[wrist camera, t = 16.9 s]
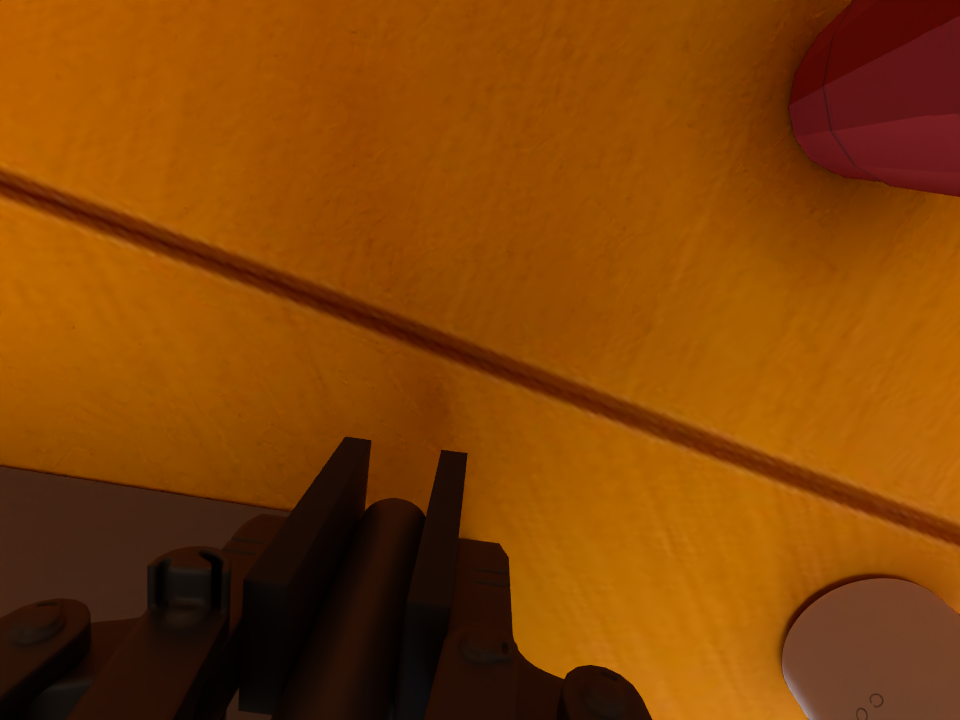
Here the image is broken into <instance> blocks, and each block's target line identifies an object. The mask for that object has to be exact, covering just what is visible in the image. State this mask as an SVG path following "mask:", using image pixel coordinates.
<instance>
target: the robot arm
mask: <svg viewBox="0 0 960 720" xmlns="http://www.w3.org/2000/svg"><path fill="white" fill-rule="evenodd" d="M370 449H371V440H367V439H359V438H352V437H345V438H344V439H343V440H342V442H341V443H340V445H339V446H338V447H337V449H336V450H335V452H334V453H333V454H332V456H331V457H330V459H329V460H328V461H327V463H326V464H325V466H324V467H323V468H322V470H321V471H320V473H319V474H318V475H317V477H316V478H315V480H314V481H313V483H312V484H311V485H310V487H309V488H308V490H307V491H306V492H305V494H304V495H303V497H302V498H301V499H300V501H299V502H298V504H297V505H296V506H295V508H294V509H293V511H292V512H291V513H290V515H289V516H288V517H285V516H278V515H270V514H263V513H261V514H260V515H258V516H256V517H254V518H253V519H251V520H249V521H247V522H245V523H244V524H243V525H242V526H241V527H240V528H239V529H238V530H237V532H236V533H235V534H234V535H233V536H232V538H231V540H229V541H228V542H227V543H226V545H225V546H224V547H223V548H222V550H220V549H218V548H213V547H208V546H190V547H185V548H180V549H176V550H172V551H170V552H168V553H166V554H163V555H161V556H159V557H157V558H156V559H155V560H154V561H152V562H151V563H150V564H149V565H148V566H147V610H146V611H145V612H144V614H143V615H142V616H141V617H136V618H130V619H123V620H113V621H103V622H93V623H91V613H90V611H89V609H88V607H87V605H86V604H84V603H82V602H80V601H78V600H75V599H64V598H57V599H50V600H43V601H39V602H36V603H32V604H29V605H26V606H23V607H20V608H18V609H17V610H15V611H13V612H11V613H9V614H7V615H5V616H3V617H2V618H0V720H227V708H228V706H229V704H230V702H231V701H232V699H233V697H234V695H235V693H236V692H237V690H238V688H239V702H238V711H243V712H251V713H259V714H266V715H273V713H274V711H275V708H276V706H277V704H278V702H279V699H280V697H281V695H282V693H283V691H284V688H285V686H286V684H287V682H288V679H289V677H290V675H291V673H292V671H293V668H294V666H295V664H296V662H297V659H298V657H299V655H300V653H301V651H302V648H303V646H304V644H305V642H306V640H307V637H308V635H309V633H310V631H311V628H312V626H313V624H314V622H315V620H316V617H317V615H318V613H319V611H320V608H321V606H322V604H323V602H324V600H325V597H326V595H327V593H328V591H329V588H330V586H331V584H332V582H333V580H334V577H335V575H336V573H337V571H338V568H339V566H340V564H341V562H342V560H343V557H344V555H345V553H346V551H347V548H348V546H349V544H350V542H351V540H352V537H353V535H354V533H355V531H356V528H357V526H358V524H359V522H360V520H361V517H362V515H363V514H364V512H365V501H366V491H367V481H368V470H369V460H370ZM467 454H468V453H463V452H455V451H448V450H441V454H440V458H439V463H438V467H437V471H436V476H435V480H434V484H433V489H432V493H431V497H430V502H429V506H428V510H427V515H426V519H425V524H424V528H423V532H422V537H421V541H420V545H419V550H418V554H417V558H416V563H415V567H414V571H413V576H412V580H411V585H410V589H409V593H408V598H407V603H406V611H405V619H404V627H403V636H402V644H401V652H400V660H399V668H398V677H397V685H396V693H395V701H394V710H393V718H392V720H652V718H651V716H650V714H649V712H648V710H647V708H646V706H645V703H644V701H643V699H642V697H641V696H640V695H639V693H638V692H637V690H636V689H635V687H634V686H633V685H632V684H631V683H630V682H629V681H627V680H626V679H625V678H624V677H622V676H621V675H620V674H618V673H616V672H614V671H611V670H609V669H607V668H605V667H599V666H593V665H587V666H580V667H576V668H575V669H573V670H572V671H570V672H569V673H567V675H566V677H565V679H562V678H559V677H557V676H554V675H552V674H550V673H547V672H545V671H543V670H541V669H539V668H537V667H535V666H534V665H533V664H531V663H530V662H529V661H527V660H526V659H525V658H524V656H523V655H522V654H521V653H520V652H519V650H518V647H517V644H516V643H515V641H514V638H513V631H512V612H511V593H510V575H509V557H508V556H507V554H506V553H505V551H504V550H503V548H502V547H501V545H500V544H499V543H491V542H484V541H477V540H469V539H462V538H458V537H459V528H460V518H461V509H462V500H463V491H464V481H465V472H466V463H467Z"/></svg>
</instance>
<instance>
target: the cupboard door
mask: <svg viewBox="0 0 960 720" xmlns="http://www.w3.org/2000/svg"><path fill="white" fill-rule="evenodd" d="M261 513H263V514H270V515H278V516H285V517H288V516H289V515H290V513H291V512H285V511H279V510H272V509H266V508H260V507H253V506H247V505H241V504H234V503H228V502H222V501H215V500H209V499H203V498H197V497H190V496H184V495H178V494H171V493H165V492H159V491H152V490H146V489H140V488H133V487H127V486H121V485H114V484H108V483H102V482H95V481H89V480H83V479H76V478H70V477H64V476H57V475H51V474H45V473H38V472H32V471H26V470H19V469H13V468H7V467H0V618H2V617H3V616H5V615H7V614H9V613H11V612H13V611H15V610H17V609H18V608H20V607H23V606H26V605H29V604H32V603H36V602H39V601H43V600H50V599H57V598H64V599H75V600H78V601H80V602H82V603H84V604H86V605H87V607H88V609H89V611H90V613H91V623H93V622H103V621H113V620H123V619H130V618H136V617H141V616H142V615H143V614H144V612H145V611H146V610H147V566H148V565H149V564H150V563H151V562H152V561H154V560H155V559H156V558H157V557H159V556H161V555H163V554H166V553H168V552H170V551H172V550H176V549H180V548H185V547H190V546H208V547H213V548H218V549H220V550H222V548H223V547H224V546H225V545H226V543H227V542H228V541H229V540H231V538H232V536H233V535H234V534H235V533H236V532H237V530H238V529H239V528H240V527H241V526H242V525H243V524H244V523H245V522H247V521H249V520H251V519H253V518H254V517H256V516H258V515H260V514H261ZM425 519H426V516H425V515H424V513H423V512H422V511H421V510H420V509H419V508H418V507H417V506H416V505H414V504H413V503H411V502H409V501H407V500H404V499H399V498H387V499H383V500H380V501H377V502H375V503H374V504H372V505H371V506H370V507H368V508H367V509H366V511H365V512H364V514H363V515H362V517H361V520H360V522H359V524H358V526H357V528H356V531H355V533H354V535H353V537H352V540H351V542H350V544H349V546H348V548H347V551H346V553H345V555H344V557H343V560H342V562H341V564H340V566H339V568H338V571H337V573H336V575H335V577H334V580H333V582H332V584H331V586H330V588H329V591H328V593H327V595H326V597H325V600H324V602H323V604H322V606H321V608H320V611H319V613H318V615H317V617H316V620H315V622H314V624H313V626H312V628H311V631H310V633H309V635H308V637H307V640H306V642H305V644H304V646H303V648H302V651H301V653H300V655H299V657H298V659H297V662H296V664H295V666H294V668H293V671H292V673H291V675H290V677H289V679H288V682H287V684H286V686H285V688H284V691H283V693H282V695H281V697H280V699H279V702H278V704H277V706H276V708H275V711H274V713H273V715H266V714H259V713H251V712H243V711H238V702H239V688H238V690H237V692H236V693H235V695H234V697H233V699H232V701H231V702H230V704H229V706H228V708H227V720H392V718H393V710H394V701H395V693H396V685H397V677H398V668H399V660H400V652H401V644H402V636H403V627H404V619H405V611H406V603H407V598H408V593H409V589H410V585H411V580H412V576H413V571H414V567H415V563H416V558H417V554H418V550H419V545H420V541H421V537H422V532H423V528H424V524H425Z"/></svg>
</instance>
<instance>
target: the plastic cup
mask: <svg viewBox="0 0 960 720" xmlns="http://www.w3.org/2000/svg"><path fill="white" fill-rule="evenodd" d="M789 112H790V117H791V122H792V127H793V132H794V137H795V138H796V140H797V141H798V143H799V144H800V146H801V147H802V148H803V150H804V151H805V153H806V154H807V156H808V157H809V158H810V160H811V161H813V162H815V163H817V164H819V165H820V166H822V167H824V168H826V169H828V170H829V171H831V172H833V173H835V174H838V175H840V176H842V177H844V178H852V179H861V180H870V181H879V182H884V183H885V184H887V185H889V186H893V187H900V188H906V189H912V190H919V191H925V192H931V193H938V194H944V195H950V196H957V197H960V0H854V1H853V2H852V3H851V4H850V5H849V6H848V7H847V8H846V9H844V10H843V11H842V12H841V13H840V14H839V15H838V16H837V17H836V18H835V19H834V20H833V21H832V22H831V23H829V24H828V25H827V26H826V27H825V28H824V29H823V30H822V31H821V32H820V33H819V34H818V36H817V37H816V39H815V41H814V42H813V43H812V45H811V47H810V48H809V50H808V52H807V53H806V55H805V57H804V59H803V60H802V62H801V64H800V66H799V67H798V69H797V71H796V72H795V75H794V80H793V85H792V91H791V96H790V101H789Z"/></svg>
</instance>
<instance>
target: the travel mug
mask: <svg viewBox="0 0 960 720" xmlns="http://www.w3.org/2000/svg"><path fill="white" fill-rule="evenodd" d="M782 669H783V675H784V678H785V681H786V683H787V686H788V688H789V689H790V691H791V693H792V694H793V696H794V697H795V699H796V700H797V702H798V703H799V705H800V706H801V708H802V710H803V711H804V713H805V714H806V716H807V717H808V719H809V720H960V615H959V614H958V613H957V612H956V611H955V610H953V609H952V608H951V607H950V606H948V605H947V604H946V603H945V602H944V601H942V600H941V599H940V598H939V597H938V596H936V595H935V594H934V593H932V592H931V591H929V590H927V589H926V588H924V587H922V586H919V585H917V584H914V583H911V582H908V581H904V580H899V579H889V578H877V579H867V580H861V581H857V582H853V583H850V584H846V585H844V586H841V587H839V588H836V589H834V590H832V591H830V592H828V593H827V594H825V595H823V596H822V597H820V598H819V599H817V600H816V601H815V602H814V603H812V604H811V605H810V606H809V607H808V608H807V609H806V610H805V611H804V612H803V613H802V614H801V615H800V616H799V617H798V619H797V620H796V621H795V623H794V624H793V626H792V628H791V629H790V631H789V633H788V636H787V638H786V641H785V644H784V648H783V653H782Z"/></svg>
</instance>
